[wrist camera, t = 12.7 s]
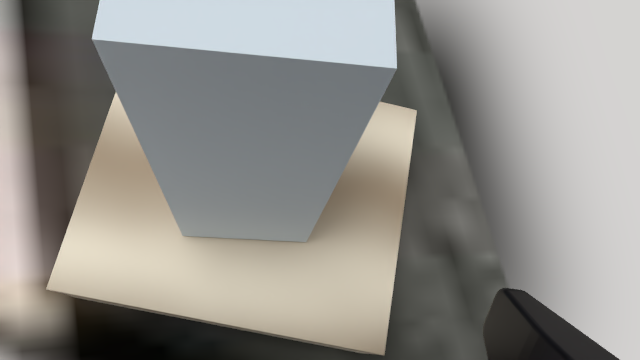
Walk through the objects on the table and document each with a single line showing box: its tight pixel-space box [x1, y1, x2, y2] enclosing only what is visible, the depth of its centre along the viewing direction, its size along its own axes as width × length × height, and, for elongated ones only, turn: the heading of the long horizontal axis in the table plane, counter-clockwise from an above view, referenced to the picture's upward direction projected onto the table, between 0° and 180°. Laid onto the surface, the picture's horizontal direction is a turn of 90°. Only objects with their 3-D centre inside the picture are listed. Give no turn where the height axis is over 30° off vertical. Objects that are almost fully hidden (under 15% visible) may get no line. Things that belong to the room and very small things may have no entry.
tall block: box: [92, 0, 397, 242], centre depth 14 cm, size 4×4×12 cm
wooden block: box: [46, 93, 417, 355], centre depth 21 cm, size 10×12×4 cm
